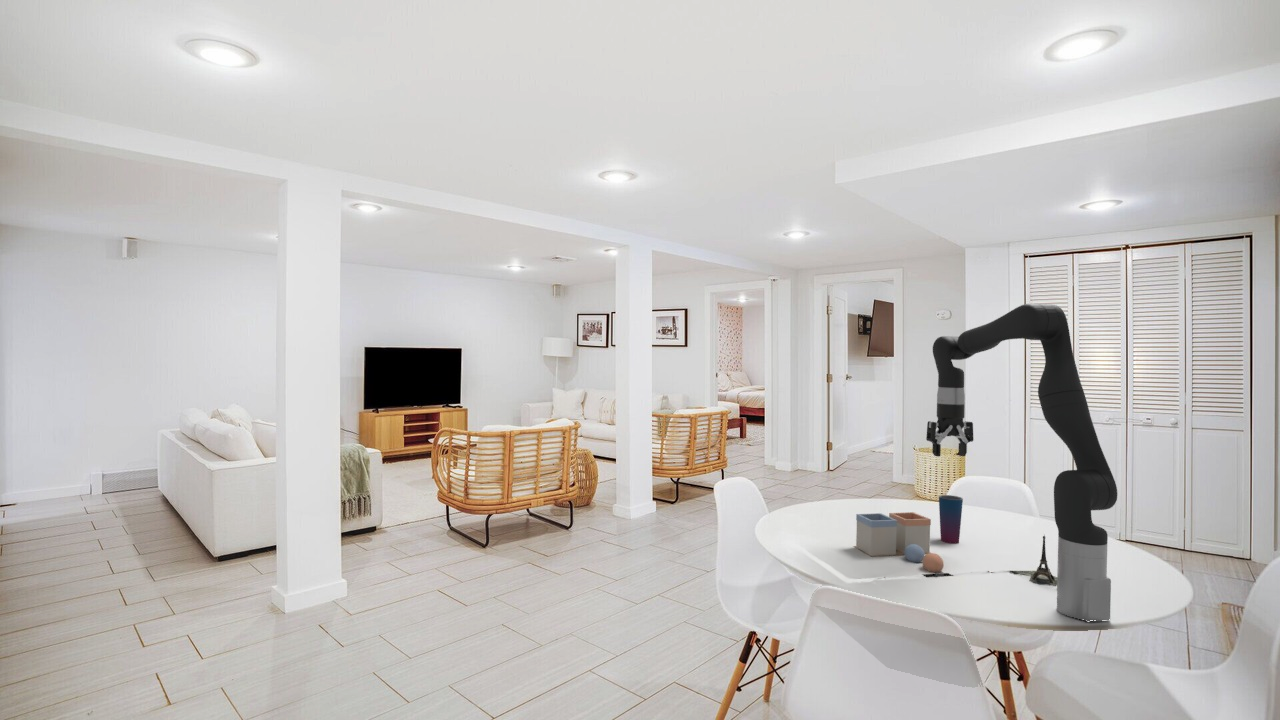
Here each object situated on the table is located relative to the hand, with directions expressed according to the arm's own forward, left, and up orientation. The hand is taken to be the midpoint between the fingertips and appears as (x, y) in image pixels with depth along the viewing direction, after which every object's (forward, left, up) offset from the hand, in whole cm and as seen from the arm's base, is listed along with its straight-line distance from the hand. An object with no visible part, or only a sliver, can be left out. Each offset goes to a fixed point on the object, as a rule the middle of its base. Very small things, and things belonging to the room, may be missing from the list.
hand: (949, 456), depth 186 cm
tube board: (+1, +18, -29) cm, 34 cm away
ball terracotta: (-16, +17, -29) cm, 37 cm away
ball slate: (-8, +17, -29) cm, 35 cm away
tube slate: (+1, +23, -28) cm, 37 cm away
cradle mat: (-12, +17, -29) cm, 36 cm away
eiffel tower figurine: (-25, -10, -30) cm, 40 cm away
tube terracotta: (+1, +12, -28) cm, 31 cm away
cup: (+7, -6, -30) cm, 31 cm away
